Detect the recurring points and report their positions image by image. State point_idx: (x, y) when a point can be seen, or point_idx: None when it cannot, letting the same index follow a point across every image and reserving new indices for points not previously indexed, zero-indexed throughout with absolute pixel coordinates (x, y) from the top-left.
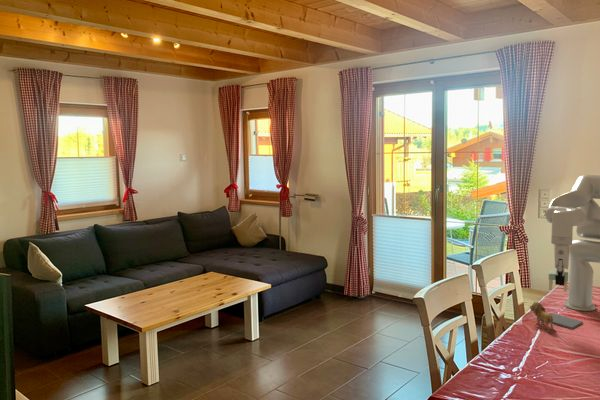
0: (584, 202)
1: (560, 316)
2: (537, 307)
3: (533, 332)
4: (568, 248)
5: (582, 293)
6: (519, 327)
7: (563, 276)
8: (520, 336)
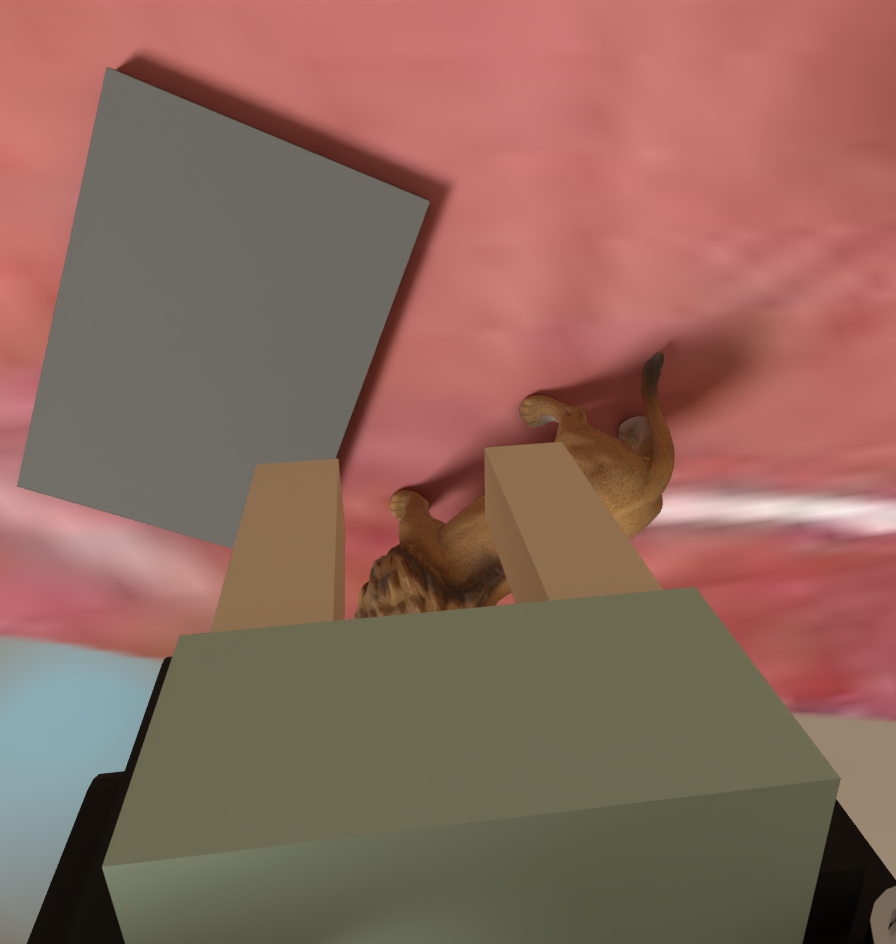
0: None
1: (90, 359)
2: None
3: (705, 542)
4: None
5: None
6: None
7: (851, 879)
8: (845, 616)
